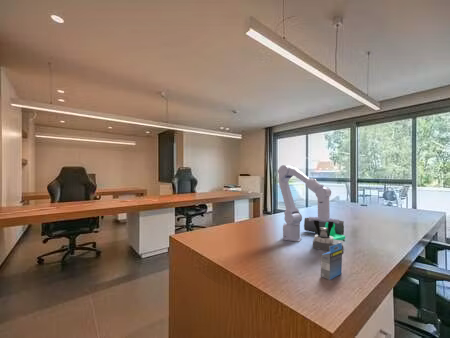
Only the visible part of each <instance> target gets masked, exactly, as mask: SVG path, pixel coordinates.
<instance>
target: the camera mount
mask: <svg viewBox="0 0 450 338" xmlns="http://www.w3.org/2000/svg"><path fill="white" fill-rule="evenodd" d="M325 228H328V222H326V224H325ZM334 228H335V224H333V226H332V228H331V231H330V236H332V237H333V239H334V240H342V241H343V242H344V240H346V235H340V234H336V232H335V230H334Z"/></svg>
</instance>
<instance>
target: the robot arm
mask: <svg viewBox="0 0 450 338" xmlns="http://www.w3.org/2000/svg"><path fill="white" fill-rule="evenodd" d="M277 175H278V180H277V181H278V185H279V188H280V192H281V195H282V200H283V202H284V203H283V204H284V206H285V211H284V213H283V214H284V221H285V223H283V225H282V240H284V241H291V242H301V240H302V237H301V232H300V231H301V222H302V220H303V216H302V214H301V213H300V210H299V208H297V207H296V205H295V204H296V203H295V202H294V198H293V197H294V196H293V194H292V191H291V187H290V184H289V181H290V179H291V178H293V177H295V178H297V179H299V181H302V182H303V183H304V184H305V187H306V188H307V189H309V190H310V191H312V192H313V193H314V194H315V197H316V198H317V216H309V217H308V218H309V221H314V224H315V226H316V229H317V232H318V234H317V235H318V236H320V229H319V228H320V222H328V237H329V236H330V231H331V228H332V226H333V224H334V223H337V224H339V220H340V219H338V218H333V217H330V216H331V215H330V197H331V195H332V191H331V189H330V188H329V187H328V186H324V184H323V183H320V182H318V181H317V179H316V178H313V177H312V178H309V177H308V176H307V175H306V174H305V173H303V172H302V171H301V170H299V168H297V167H295V166H294V165H284V164H283V165H280V166H279V168H278V169H277Z"/></svg>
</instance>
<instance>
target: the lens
mask: <svg viewBox="0 0 450 338" xmlns="http://www.w3.org/2000/svg"><path fill="white" fill-rule="evenodd" d="M319 229H320V238H328V228H325V227H320V228H319Z"/></svg>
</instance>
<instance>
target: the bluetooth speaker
mask: <svg viewBox="0 0 450 338" xmlns="http://www.w3.org/2000/svg"><path fill="white" fill-rule="evenodd" d="M325 224H326V222H320V227H325ZM334 224H335V228H334V230H335V232H336V234H340V235H344V234H345V227H344V226H345V225H344V220H340V219H339V224H337V223H334ZM303 228H304V231H307V232H312V233H314V234H315V235H318V232H317V229H316V226H315V224H314V221H309V217H304V223H303ZM344 236H345V235H344Z"/></svg>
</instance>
